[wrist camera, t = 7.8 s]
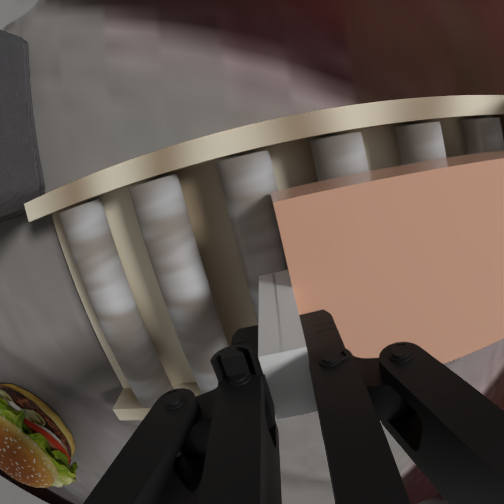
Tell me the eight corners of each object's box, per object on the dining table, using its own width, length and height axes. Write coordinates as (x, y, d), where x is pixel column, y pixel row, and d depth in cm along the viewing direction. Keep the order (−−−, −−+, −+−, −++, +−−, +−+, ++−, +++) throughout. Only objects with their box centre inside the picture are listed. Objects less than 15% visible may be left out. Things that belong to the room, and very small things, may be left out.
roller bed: (131, 394, 24) (99, 461, 16) (51, 196, 19) (-24, 218, 12) (511, 305, 21) (564, 348, 13) (501, 99, 16) (573, 92, 9)
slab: (308, 362, 18) (315, 401, 15) (270, 192, 15) (272, 202, 12) (501, 301, 17) (530, 324, 14) (498, 150, 14) (536, 153, 11)
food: (42, 461, 29) (19, 500, 22) (-23, 380, 26) (-58, 416, 18) (112, 464, 28) (90, 517, 20) (34, 367, 24) (-11, 418, 16)
